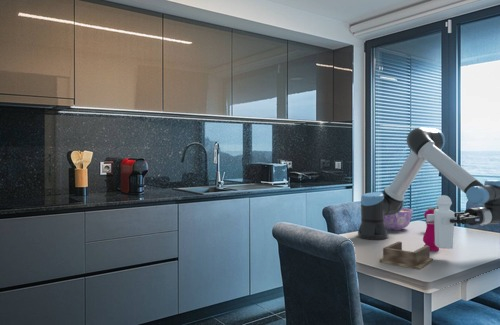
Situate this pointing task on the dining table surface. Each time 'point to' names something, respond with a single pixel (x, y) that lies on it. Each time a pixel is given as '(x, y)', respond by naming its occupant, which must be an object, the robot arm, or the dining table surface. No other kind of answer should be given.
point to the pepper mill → (430, 232)
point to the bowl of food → (398, 219)
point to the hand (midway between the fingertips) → (434, 219)
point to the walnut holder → (406, 256)
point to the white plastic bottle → (443, 230)
